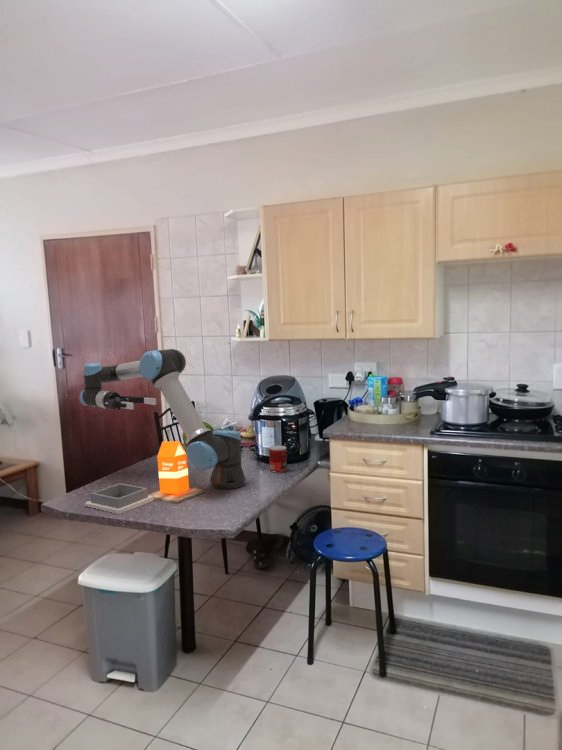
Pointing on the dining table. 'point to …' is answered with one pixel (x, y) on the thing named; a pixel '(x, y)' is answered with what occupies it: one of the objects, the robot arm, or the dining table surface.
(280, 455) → the canned food
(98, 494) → the collar holder
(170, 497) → the oak board
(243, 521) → the dining table surface
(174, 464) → the orange juice
